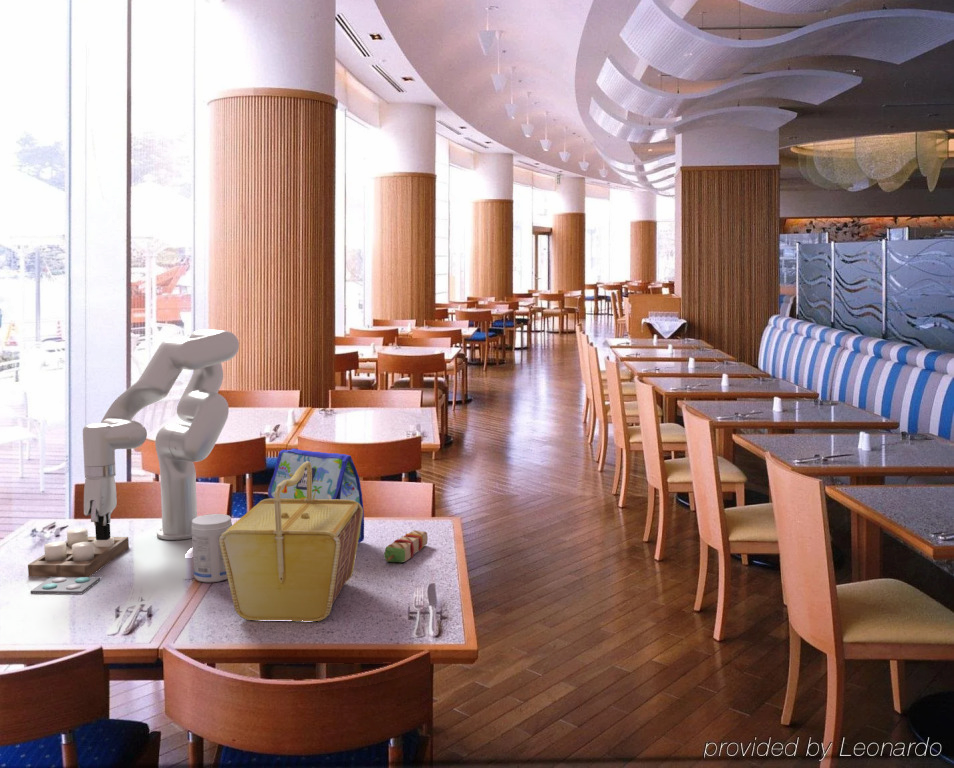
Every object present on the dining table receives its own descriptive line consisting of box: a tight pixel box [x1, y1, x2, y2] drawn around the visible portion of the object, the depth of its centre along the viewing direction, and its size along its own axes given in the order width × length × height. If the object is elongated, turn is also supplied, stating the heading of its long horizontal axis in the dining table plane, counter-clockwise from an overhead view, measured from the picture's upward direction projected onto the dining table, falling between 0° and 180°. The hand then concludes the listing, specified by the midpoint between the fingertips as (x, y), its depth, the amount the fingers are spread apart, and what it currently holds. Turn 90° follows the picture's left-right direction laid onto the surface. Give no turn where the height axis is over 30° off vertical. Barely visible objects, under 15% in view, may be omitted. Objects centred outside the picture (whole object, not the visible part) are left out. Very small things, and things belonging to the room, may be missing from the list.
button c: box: [72, 542, 94, 561], centre depth 229 cm, size 5×5×4 cm
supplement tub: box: [191, 513, 233, 583], centre depth 223 cm, size 10×10×15 cm
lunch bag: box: [267, 448, 365, 544], centre depth 248 cm, size 22×17×26 cm
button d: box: [43, 541, 67, 561], centre depth 229 cm, size 5×5×4 cm
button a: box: [94, 535, 115, 547], centre depth 241 cm, size 5×5×4 cm
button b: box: [66, 527, 89, 547], centre depth 241 cm, size 5×5×4 cm
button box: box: [27, 536, 130, 578], centre depth 235 cm, size 15×24×3 cm, turn 179°
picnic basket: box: [219, 461, 364, 622], centre depth 205 cm, size 29×26×30 cm
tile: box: [30, 576, 102, 594], centre depth 217 cm, size 12×10×1 cm
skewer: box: [383, 530, 428, 563], centre depth 240 cm, size 21×6×5 cm, turn 161°
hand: (103, 539), depth 241 cm, fingers closed
